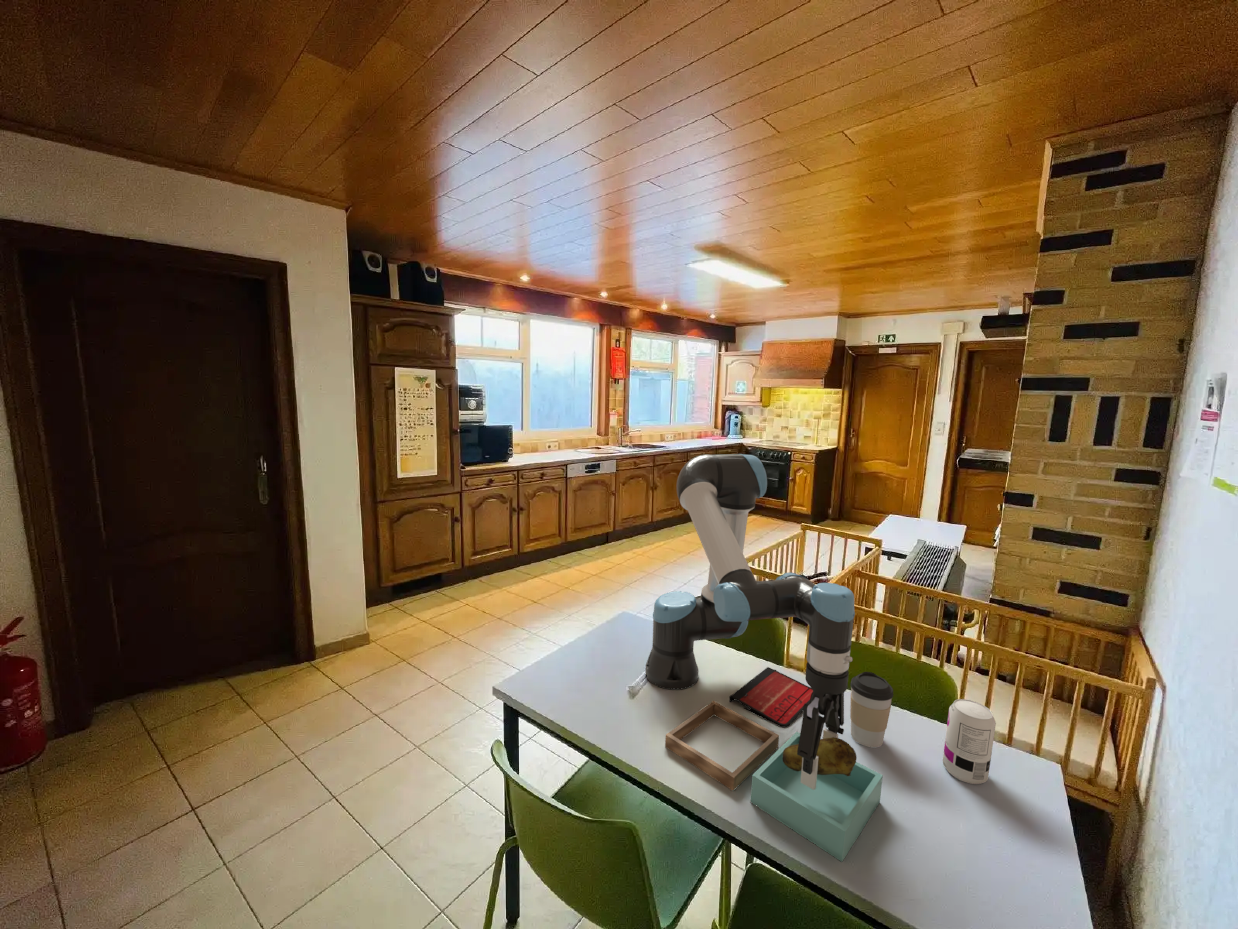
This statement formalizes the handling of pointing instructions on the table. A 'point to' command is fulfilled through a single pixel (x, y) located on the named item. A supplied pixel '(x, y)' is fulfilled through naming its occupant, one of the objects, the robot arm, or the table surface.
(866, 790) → the tub
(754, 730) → the frame
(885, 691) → the coffee cup
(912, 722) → the table surface
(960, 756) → the supplement can
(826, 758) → the potato
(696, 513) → the robot arm
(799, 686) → the binder
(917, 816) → the table surface
